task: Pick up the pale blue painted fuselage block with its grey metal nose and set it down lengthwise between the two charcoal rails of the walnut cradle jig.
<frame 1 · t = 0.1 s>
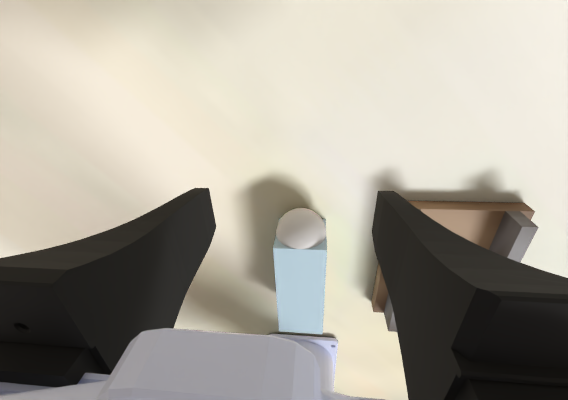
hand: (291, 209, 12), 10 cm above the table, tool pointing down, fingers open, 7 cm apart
fuselage: (302, 254, 26), on the table
cradle: (437, 259, 25), on the table
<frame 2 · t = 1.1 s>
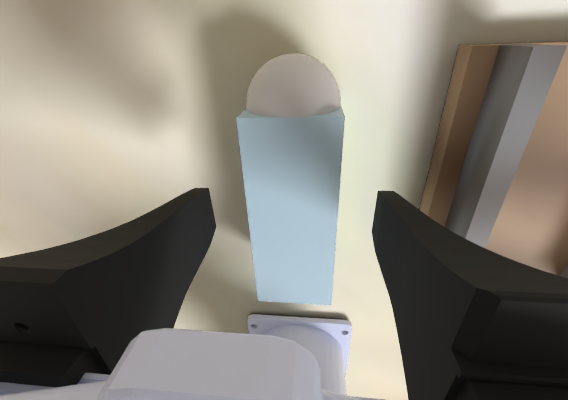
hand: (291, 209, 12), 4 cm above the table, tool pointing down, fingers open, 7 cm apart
fuselage: (297, 171, 16), on the table
cradle: (529, 174, 15), on the table
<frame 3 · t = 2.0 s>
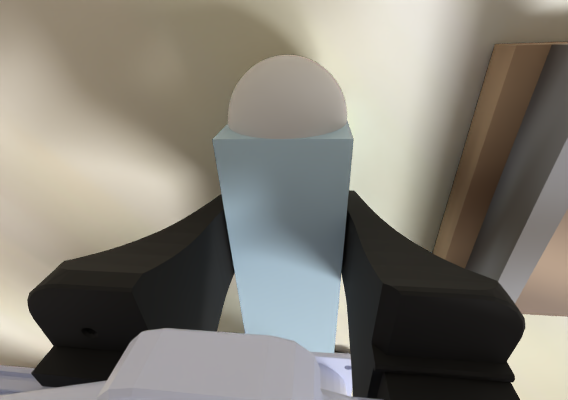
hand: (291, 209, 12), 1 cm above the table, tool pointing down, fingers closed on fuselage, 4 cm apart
fuselage: (293, 193, 13), on the table, touching gripper
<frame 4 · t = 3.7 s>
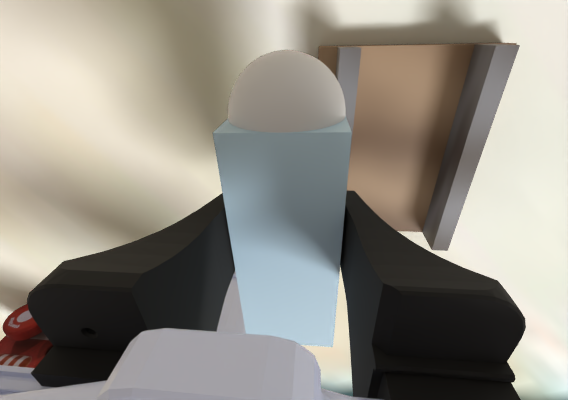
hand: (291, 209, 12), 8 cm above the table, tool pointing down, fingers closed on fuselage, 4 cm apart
fuselage: (292, 189, 14), point 7 cm above the table, touching gripper
cradle: (390, 146, 19), on the table
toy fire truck: (77, 320, 33), on the table
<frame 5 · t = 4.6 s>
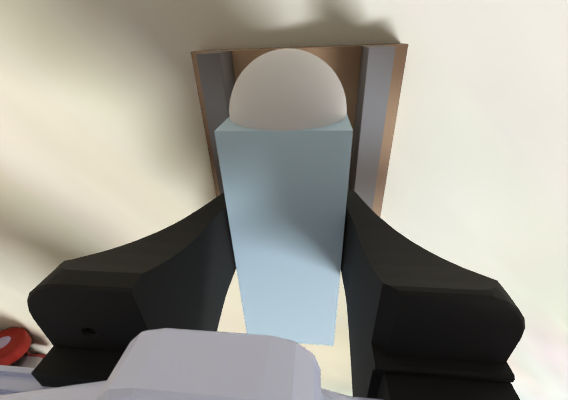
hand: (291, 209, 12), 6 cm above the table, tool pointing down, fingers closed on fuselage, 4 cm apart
fuselage: (293, 188, 14), point 4 cm above the table, touching gripper
cradle: (298, 160, 17), on the table
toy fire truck: (14, 341, 32), on the table
when the fingers open (4 cm above the table, at t = 5.3 s): fuselage drops 1 cm, resting on cradle.
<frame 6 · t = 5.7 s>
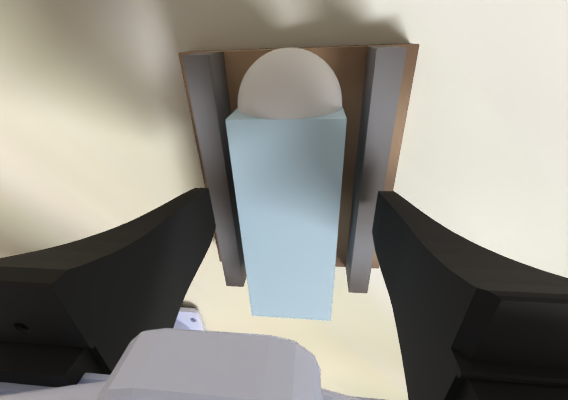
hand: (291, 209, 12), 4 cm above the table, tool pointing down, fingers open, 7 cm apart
fuselage: (294, 176, 15), point 1 cm above the table, touching cradle
cradle: (297, 169, 16), on the table
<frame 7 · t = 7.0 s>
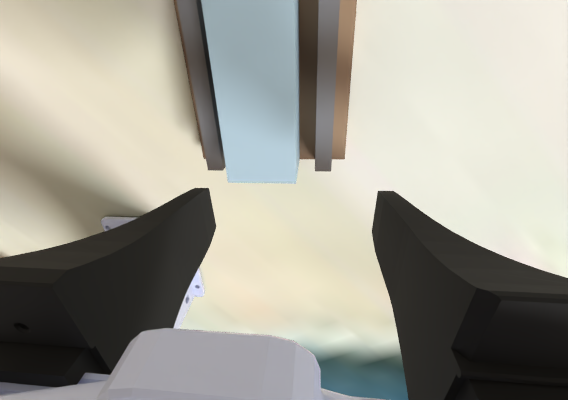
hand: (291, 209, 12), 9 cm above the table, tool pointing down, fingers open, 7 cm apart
fuselage: (265, 62, 17), point 1 cm above the table, touching cradle
cradle: (269, 63, 18), on the table
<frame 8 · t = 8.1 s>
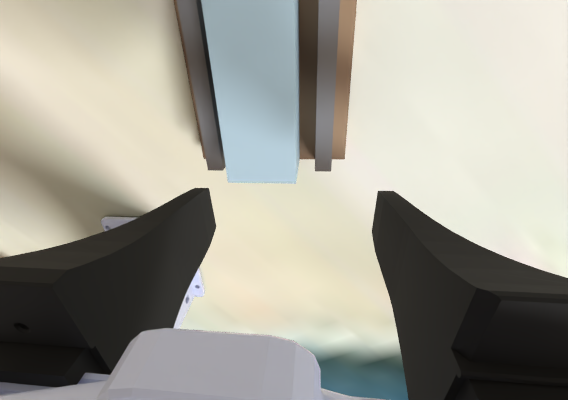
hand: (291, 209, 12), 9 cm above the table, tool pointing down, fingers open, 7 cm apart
fuselage: (265, 62, 17), point 1 cm above the table, touching cradle
cradle: (269, 63, 18), on the table
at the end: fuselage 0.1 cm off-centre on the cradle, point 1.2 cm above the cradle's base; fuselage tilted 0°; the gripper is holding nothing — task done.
